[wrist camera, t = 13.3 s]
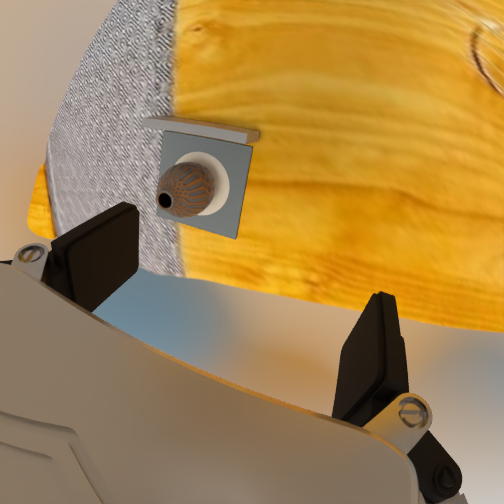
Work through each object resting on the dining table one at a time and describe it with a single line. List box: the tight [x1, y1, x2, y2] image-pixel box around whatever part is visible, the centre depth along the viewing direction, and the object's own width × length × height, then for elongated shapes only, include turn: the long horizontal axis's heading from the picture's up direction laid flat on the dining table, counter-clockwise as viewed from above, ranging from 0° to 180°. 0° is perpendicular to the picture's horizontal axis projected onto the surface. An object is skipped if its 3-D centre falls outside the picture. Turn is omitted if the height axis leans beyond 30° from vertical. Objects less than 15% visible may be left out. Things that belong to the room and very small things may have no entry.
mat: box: [157, 131, 253, 239], centre depth 39 cm, size 13×13×1 cm
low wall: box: [142, 116, 260, 144], centre depth 34 cm, size 1×14×5 cm, turn 79°
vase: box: [156, 162, 215, 218], centre depth 35 cm, size 7×7×9 cm
